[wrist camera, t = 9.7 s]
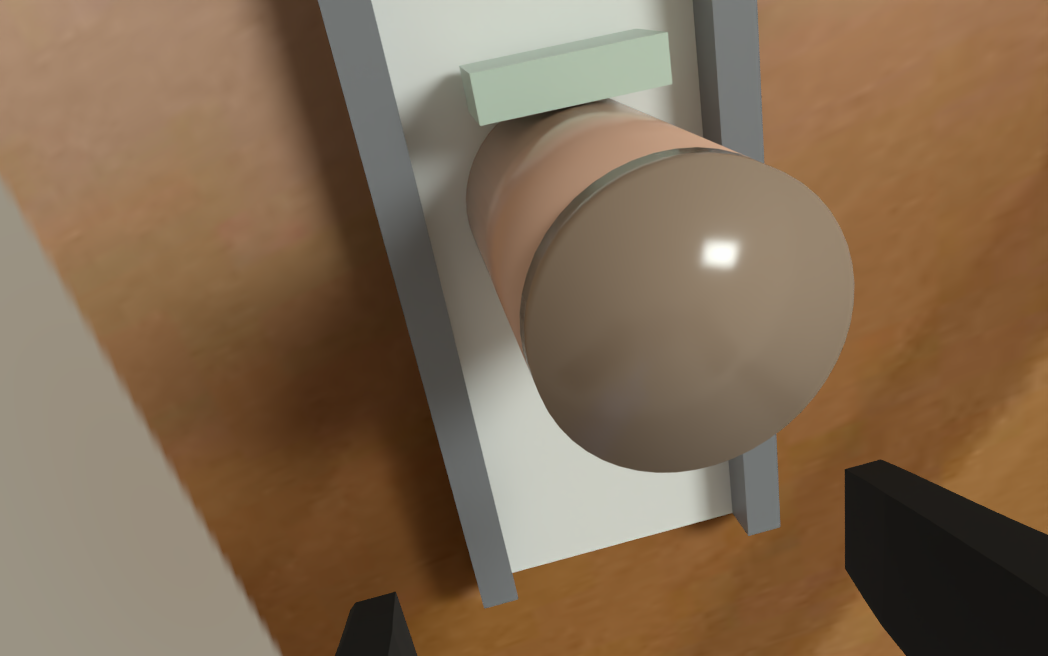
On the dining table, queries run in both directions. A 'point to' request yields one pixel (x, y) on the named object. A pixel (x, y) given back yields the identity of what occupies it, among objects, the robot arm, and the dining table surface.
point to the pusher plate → (566, 75)
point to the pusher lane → (467, 290)
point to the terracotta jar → (658, 283)
